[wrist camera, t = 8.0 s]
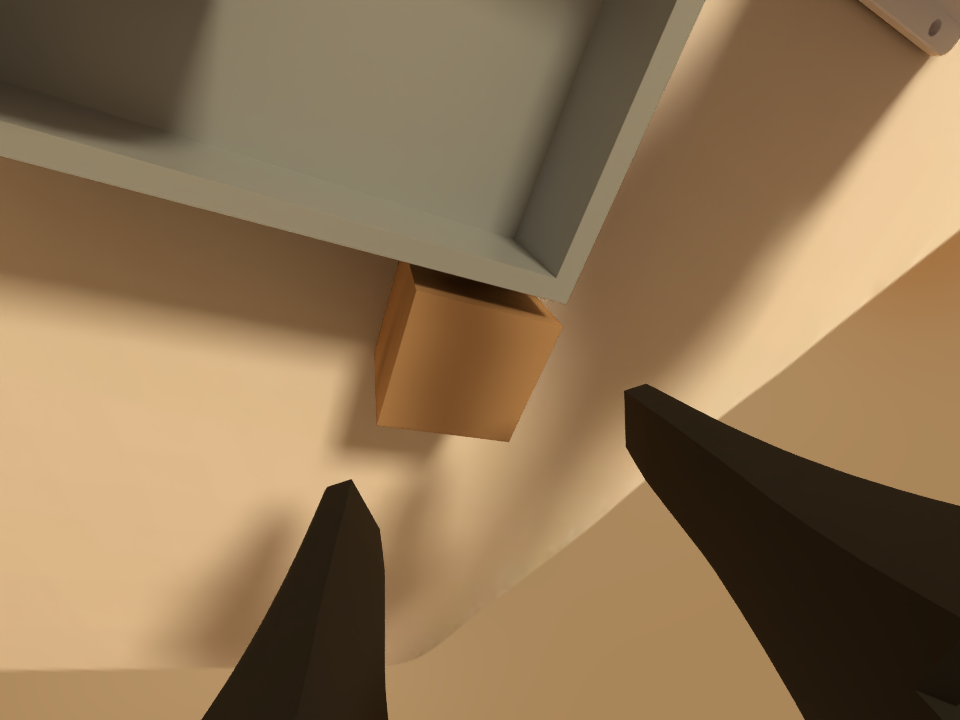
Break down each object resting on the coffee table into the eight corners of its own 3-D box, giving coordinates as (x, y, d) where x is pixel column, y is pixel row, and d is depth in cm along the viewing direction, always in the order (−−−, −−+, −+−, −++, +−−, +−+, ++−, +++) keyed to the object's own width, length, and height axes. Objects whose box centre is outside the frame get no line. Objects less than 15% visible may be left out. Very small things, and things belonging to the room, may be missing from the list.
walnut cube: (518, 275, 18) (562, 326, 14) (479, 372, 20) (508, 442, 16) (403, 242, 17) (416, 290, 12) (374, 352, 19) (376, 425, 14)
